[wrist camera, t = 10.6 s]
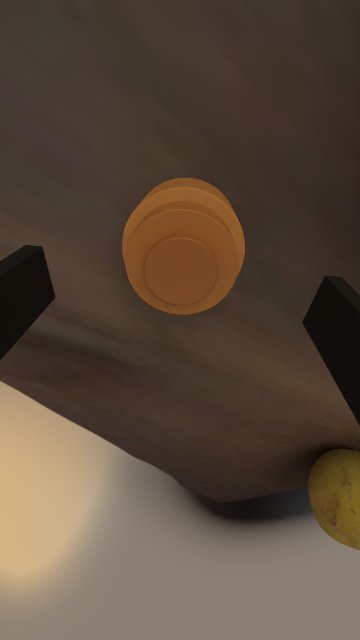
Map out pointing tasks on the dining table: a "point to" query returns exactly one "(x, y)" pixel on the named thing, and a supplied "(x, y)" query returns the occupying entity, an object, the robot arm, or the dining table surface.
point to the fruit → (337, 495)
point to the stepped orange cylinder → (183, 246)
